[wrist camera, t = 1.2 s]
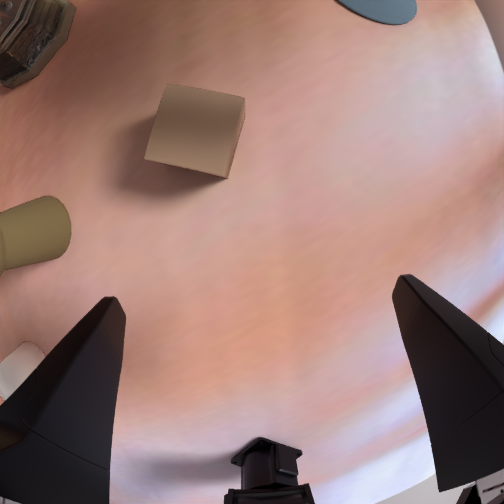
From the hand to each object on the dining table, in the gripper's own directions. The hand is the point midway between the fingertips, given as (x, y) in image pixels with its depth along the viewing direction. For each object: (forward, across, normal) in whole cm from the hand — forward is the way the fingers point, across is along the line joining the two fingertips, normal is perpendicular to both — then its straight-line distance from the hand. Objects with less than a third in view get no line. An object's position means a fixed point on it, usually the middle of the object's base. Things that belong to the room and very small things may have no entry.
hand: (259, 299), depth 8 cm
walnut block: (+16, +3, -1) cm, 16 cm away
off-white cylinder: (+7, +27, +18) cm, 33 cm away
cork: (+14, +19, +4) cm, 24 cm away
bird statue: (+23, +20, -17) cm, 35 cm away
